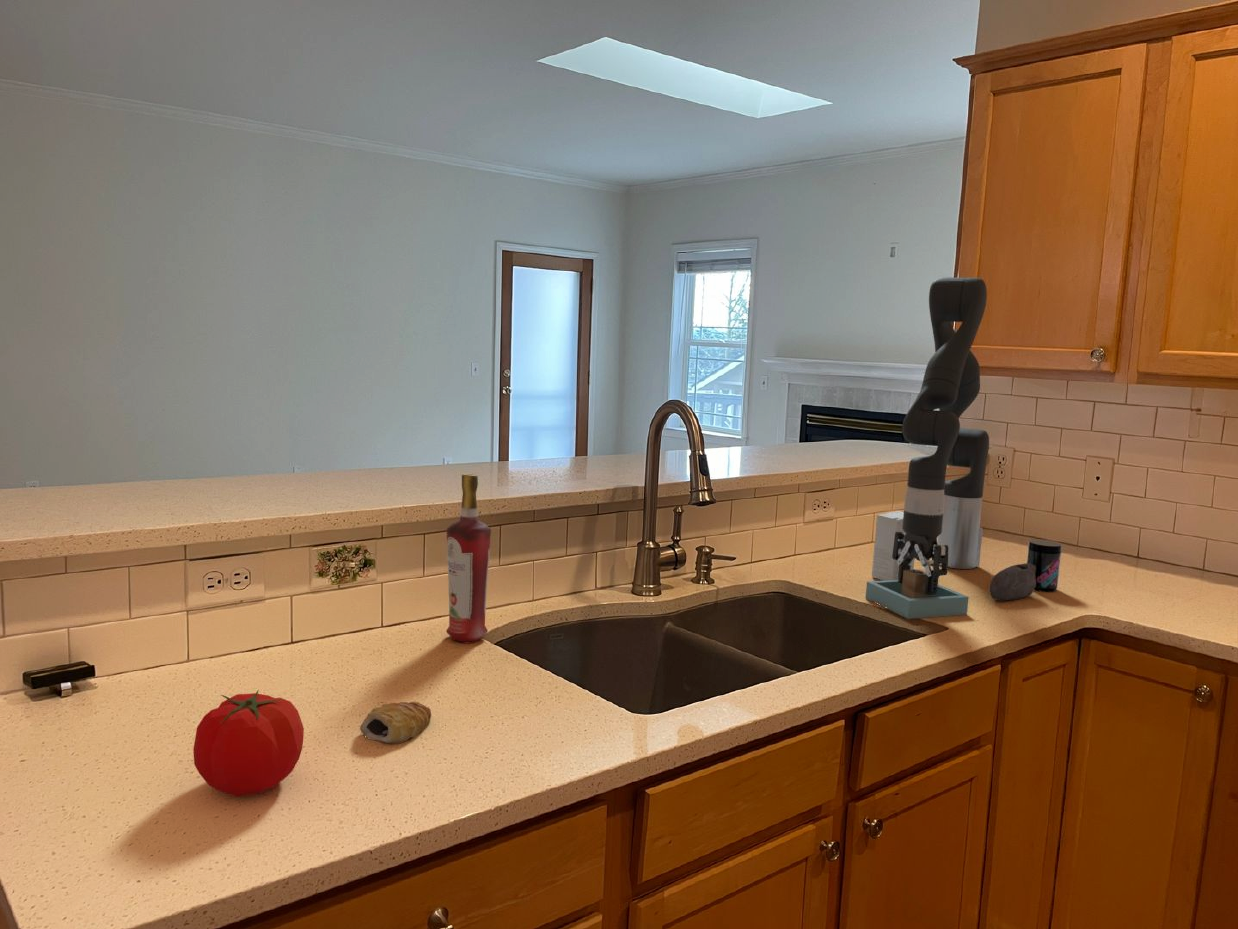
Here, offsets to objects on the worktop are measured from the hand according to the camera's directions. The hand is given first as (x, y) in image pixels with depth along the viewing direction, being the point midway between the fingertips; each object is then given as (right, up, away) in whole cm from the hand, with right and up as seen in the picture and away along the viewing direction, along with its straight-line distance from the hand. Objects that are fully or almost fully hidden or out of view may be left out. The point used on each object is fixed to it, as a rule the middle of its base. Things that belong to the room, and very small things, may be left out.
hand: (916, 588), depth 184 cm
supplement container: (+34, -3, +19) cm, 39 cm away
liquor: (-86, -5, -30) cm, 91 cm away
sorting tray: (0, -4, +1) cm, 4 cm away
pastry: (-89, -10, -66) cm, 111 cm away
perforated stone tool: (+23, -4, +10) cm, 25 cm away
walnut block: (0, -3, +1) cm, 3 cm away
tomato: (-102, -11, -81) cm, 131 cm away
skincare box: (+2, -1, +22) cm, 22 cm away
